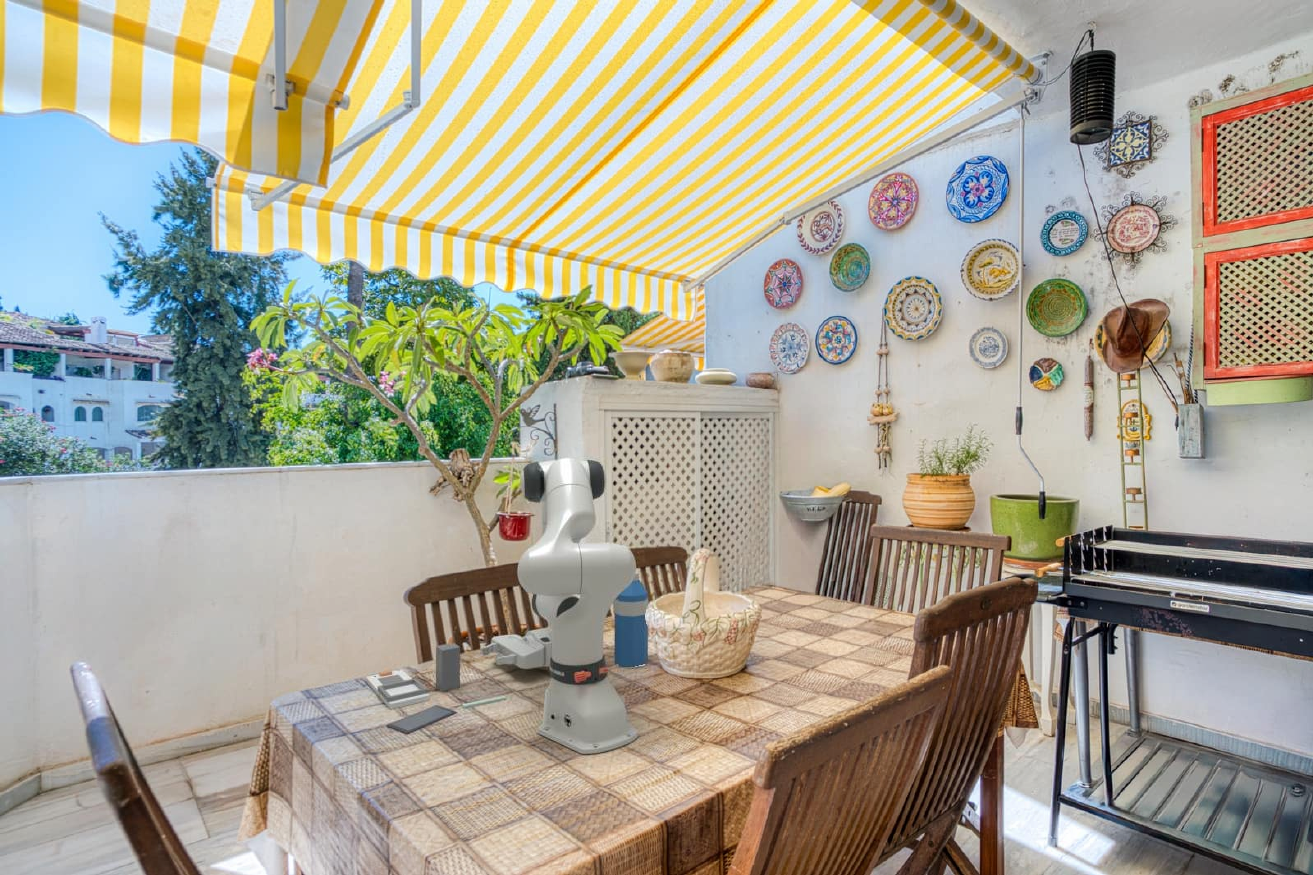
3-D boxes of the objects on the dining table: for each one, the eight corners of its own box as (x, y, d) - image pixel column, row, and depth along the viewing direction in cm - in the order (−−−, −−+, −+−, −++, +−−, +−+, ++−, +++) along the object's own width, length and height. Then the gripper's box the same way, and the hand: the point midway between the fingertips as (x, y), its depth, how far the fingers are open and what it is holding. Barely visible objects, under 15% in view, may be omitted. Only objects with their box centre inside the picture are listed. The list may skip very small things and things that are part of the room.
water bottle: (633, 670, 176) (633, 577, 176) (607, 663, 181) (607, 573, 182) (654, 661, 183) (654, 571, 183) (629, 654, 189) (629, 568, 189)
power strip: (429, 700, 155) (429, 690, 155) (390, 709, 150) (390, 699, 150) (402, 674, 173) (402, 665, 173) (365, 681, 167) (365, 673, 167)
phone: (456, 715, 148) (456, 711, 148) (407, 737, 137) (407, 732, 137) (436, 709, 152) (436, 704, 152) (386, 729, 141) (386, 724, 141)
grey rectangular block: (460, 687, 164) (460, 647, 164) (442, 691, 161) (442, 650, 161) (453, 682, 167) (453, 642, 167) (435, 686, 164) (435, 646, 165)
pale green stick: (504, 699, 157) (504, 695, 157) (506, 701, 156) (506, 697, 156) (462, 708, 152) (462, 704, 152) (463, 710, 150) (463, 706, 150)
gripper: (520, 626, 187) (473, 634, 179) (554, 643, 171) (505, 653, 163) (519, 648, 187) (473, 658, 179) (554, 668, 171) (504, 679, 163)
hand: (488, 656), depth 171 cm, fingers open, 8 cm apart
